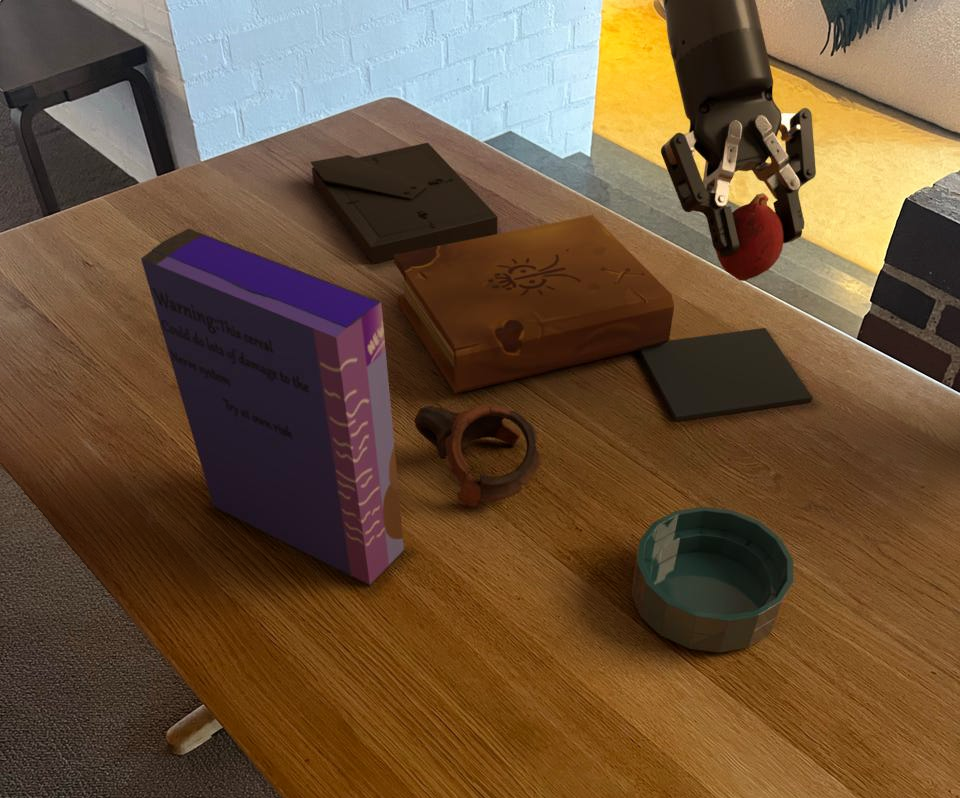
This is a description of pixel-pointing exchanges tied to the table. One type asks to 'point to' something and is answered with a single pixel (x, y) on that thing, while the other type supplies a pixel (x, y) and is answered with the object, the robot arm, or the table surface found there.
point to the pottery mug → (470, 425)
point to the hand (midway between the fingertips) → (762, 246)
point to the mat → (723, 374)
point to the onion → (754, 240)
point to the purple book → (283, 399)
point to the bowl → (711, 579)
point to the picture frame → (402, 201)
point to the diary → (531, 302)
